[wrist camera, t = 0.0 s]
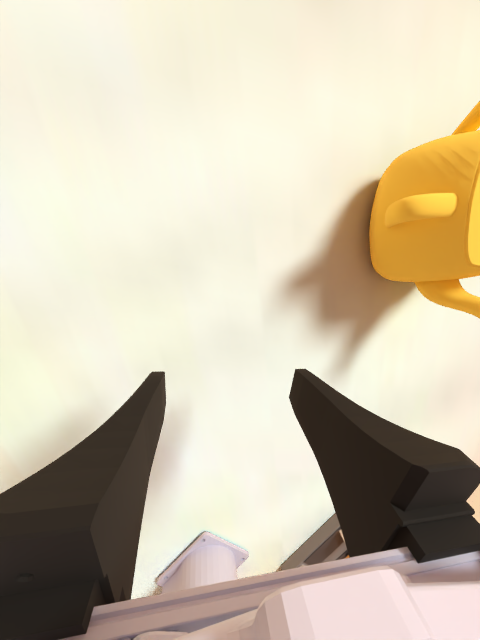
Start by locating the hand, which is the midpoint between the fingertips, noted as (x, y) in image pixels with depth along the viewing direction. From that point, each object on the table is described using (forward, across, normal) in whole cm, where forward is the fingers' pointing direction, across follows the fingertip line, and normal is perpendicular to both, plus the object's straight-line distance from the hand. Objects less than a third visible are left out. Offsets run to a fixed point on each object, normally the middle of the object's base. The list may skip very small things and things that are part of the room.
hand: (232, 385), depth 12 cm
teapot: (+12, -19, -9) cm, 24 cm away
